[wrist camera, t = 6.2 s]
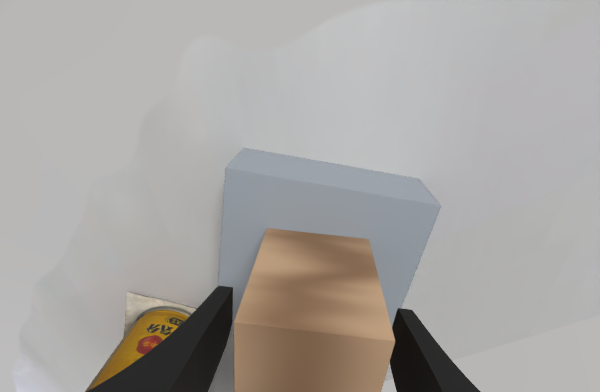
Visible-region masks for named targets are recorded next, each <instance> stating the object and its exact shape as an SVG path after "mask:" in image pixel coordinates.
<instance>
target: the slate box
mask: <svg viewBox="0 0 600 392" xmlns="http://www.w3.org/2000/svg"><path fill="white" fill-rule="evenodd" d="M440 208H441V205H440V204H439V202H438V201H437V200H436V199H435V198H434V196H433V195H432V194H431V193H430V192H429V190H428V189H427V188H426V187H425V186H424V185H423V183H422V182H421V181H420V180H419V179H418V178H412V177H406V176H401V175H395V174H389V173H384V172H378V171H373V170H367V169H361V168H356V167H350V166H344V165H339V164H333V163H327V162H322V161H316V160H310V159H305V158H299V157H293V156H288V155H282V154H277V153H271V152H265V151H260V150H254V149H248V148H243V149H242V151H241V152H240V153H239V154H238V155H237V156H236V157H235V158H234V159H233V160H232V161H231V163H230V164H229V165H228V166H227V167H226V170H225V185H224V200H223V216H222V231H221V247H220V262H219V277H218V286H226V287H233V322H232V326H231V330H234V321H235V318H236V315H237V312H238V309H239V306H240V304H241V301H242V298H243V295H244V292H245V289H246V286H247V284H248V281H249V278H250V275H251V272H252V269H253V266H254V264H255V261H256V258H257V255H258V252H259V249H260V247H261V244H262V241H263V238H264V235H265V232H266V229H267V228H271V229H280V230H290V231H299V232H308V233H317V234H326V235H336V236H345V237H354V238H363V239H369V242H370V246H371V250H372V254H373V258H374V261H375V265H376V269H377V273H378V277H379V281H380V284H381V288H382V292H383V296H384V300H385V304H386V307H387V311H388V315H389V319H390V323H391V327H392V326H393V322H394V319H395V316H396V312H397V309H398V308H400V309H401V307H402V305H403V302H404V299H405V297H406V294H407V292H408V289H409V287H410V284H411V282H412V279H413V277H414V274H415V271H416V269H417V266H418V264H419V261H420V259H421V256H422V254H423V251H424V249H425V246H426V244H427V241H428V238H429V236H430V233H431V231H432V228H433V226H434V223H435V221H436V218H437V216H438V213H439V210H440Z"/></svg>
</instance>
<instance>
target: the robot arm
mask: <svg viewBox="0 0 600 392" xmlns="http://www.w3.org/2000/svg"><path fill="white" fill-rule="evenodd" d="M232 322H233V287H226V286H218V287H217V288H216V289H215V290H214V291H213V292H212V293H211V294H210V296H209V297H208V298H207V299H206V300H205V301H204V302H203V303H202V304H201V305H200V306H199V307H198V308H197V309H196V310H195V311H194V312H193V313H192V314H191V315H190V316H189V317H188V318H187V319H186V320H185V321H184V322H183V323H182V324H181V325H180V326H179V327H178V328H176V329H175V330H174V331H173V332H172V333H171V334H170V335H169V336H167V337H166V338H165V339H164V340H163V341H161V342H160V343H159V344H158V345H157V346H155V347H154V348H153V349H151V350H150V351H149V352H147V353H146V354H145V355H143V356H142V357H141V358H139V359H138V360H136V361H135V362H134V363H132V364H131V365H129V366H128V367H126V368H125V369H123V370H122V371H120V372H119V373H117V374H115V375H114V376H112V377H110V378H109V379H107V380H106V381H104V382H102V383H101V384H99V385H97V386H96V387H94V388H92V389H90V390H89V391H87V392H208V389H209V387H210V384H211V382H212V379H213V377H214V374H215V372H216V369H217V367H218V365H219V362H220V359H221V357H222V354H223V352H224V349H225V347H226V344H227V340H228V337H229V333H230V330H231V326H232ZM392 330H393V334H394V338H395V344H394V348H393V351H392V355H391V358H390V365H391V370H392V374H393V378H394V382H395V386H396V390H397V392H480V391H479V390H478V389H477V388H476V387H475V386H474V385H473V384H472V383H471V382H470V381H469V379H468V378H467V377H465V375H464V374H463V373H462V372H461V371H460V370H459V369H458V367H457V366H456V365H455V364H454V363H453V362H452V360H451V359H450V358H449V357H448V356H447V354H446V353H445V352H444V351H443V350H442V348H441V347H440V346H439V345H438V343H437V342H436V341H435V340H434V338H433V337H432V336H431V334H430V333H429V332H428V330H427V329H426V328H425V326H424V325H423V324H422V323H421V321H420V320H419V319H418V317H417V316H416V315H415V313H414V312H413V311H412V310H408V309H400V308H398V309H397V312H396V316H395V319H394V322H393V326H392Z"/></svg>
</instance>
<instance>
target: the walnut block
mask: <svg viewBox="0 0 600 392" xmlns="http://www.w3.org/2000/svg"><path fill="white" fill-rule="evenodd" d="M394 344H395V338H394V334H393V330H392V327H391V323H390V319H389V315H388V311H387V307H386V304H385V300H384V296H383V292H382V288H381V284H380V281H379V277H378V273H377V269H376V265H375V261H374V258H373V254H372V250H371V246H370V242H369V239H363V238H354V237H345V236H336V235H326V234H317V233H308V232H299V231H290V230H280V229H271V228H267V229H266V232H265V235H264V238H263V241H262V244H261V247H260V249H259V252H258V255H257V258H256V261H255V264H254V266H253V269H252V272H251V275H250V278H249V281H248V284H247V286H246V289H245V292H244V295H243V298H242V301H241V304H240V306H239V309H238V312H237V315H236V318H235V321H234V392H381V390H382V386H383V383H384V379H385V376H386V372H387V369H388V365H389V362H390V358H391V355H392V351H393V348H394Z"/></svg>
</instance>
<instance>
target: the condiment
mask: <svg viewBox="0 0 600 392" xmlns="http://www.w3.org/2000/svg"><path fill="white" fill-rule="evenodd" d="M195 310H196V309H195V308H190V307H187V306H184V305H180V304H175V303H172V302H167V301H164V300H160V299H155V298H151V297H149V298H148V297H145V296H141V295H137V294H133V293H130V292H127V296H126V314H125V315H126V319H125V330H124V337H123V339H122V341H121V342H120V344H119V345H118V346H117V348H116V349H115V351H114V352H113V353H112V355H111V356H110V358H109V359H108V360H107V362H106V363H105V365H104V366H103V367H102V369H101V370H100V372H99V373H98V374H97V376H96V377H95V378H94V380H93V381H92V383H91V384H90V385H89V387H88V388H87V390H86V391H85V392H87V391H89V390H90V389H92V388H94V387H96V386H97V385H99V384H101V383H102V382H104V381H106V380H107V379H109V378H110V377H112V376H114V375H115V374H117V373H119V372H120V371H122V370H123V369H125V368H126V367H128V366H129V365H131V364H132V363H134V362H135V361H136V360H138V359H139V358H141V357H142V356H143V355H145V354H146V353H147V352H149V351H150V350H151V349H153V348H154V347H155V346H157V345H158V344H159V343H160V342H161V341H163V340H164V339H165V338H166V337H167V336H169V335H170V334H171V333H172V332H173V331H174V330H175V329H176V328H178V327H179V326H180V325H181V324H182V323H183V322H184V321H185V320H186V319H187V318H188V317H189V316H190V315H191V314H192V313H193V312H194V311H195Z"/></svg>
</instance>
